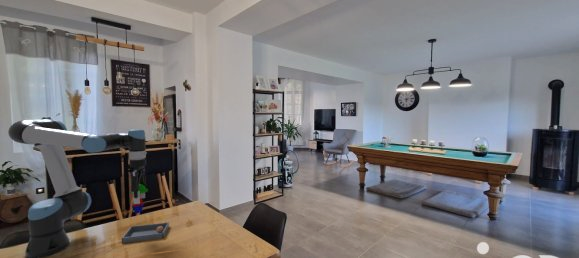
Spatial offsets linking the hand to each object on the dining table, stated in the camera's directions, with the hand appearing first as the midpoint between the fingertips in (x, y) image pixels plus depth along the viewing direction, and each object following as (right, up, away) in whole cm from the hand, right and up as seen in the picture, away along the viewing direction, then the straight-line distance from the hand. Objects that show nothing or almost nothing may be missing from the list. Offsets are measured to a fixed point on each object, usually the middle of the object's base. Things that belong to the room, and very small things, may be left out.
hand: (139, 200), depth 129 cm
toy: (0, -6, 0) cm, 6 cm away
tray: (+3, -19, +2) cm, 20 cm away
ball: (+9, -19, +4) cm, 21 cm away
